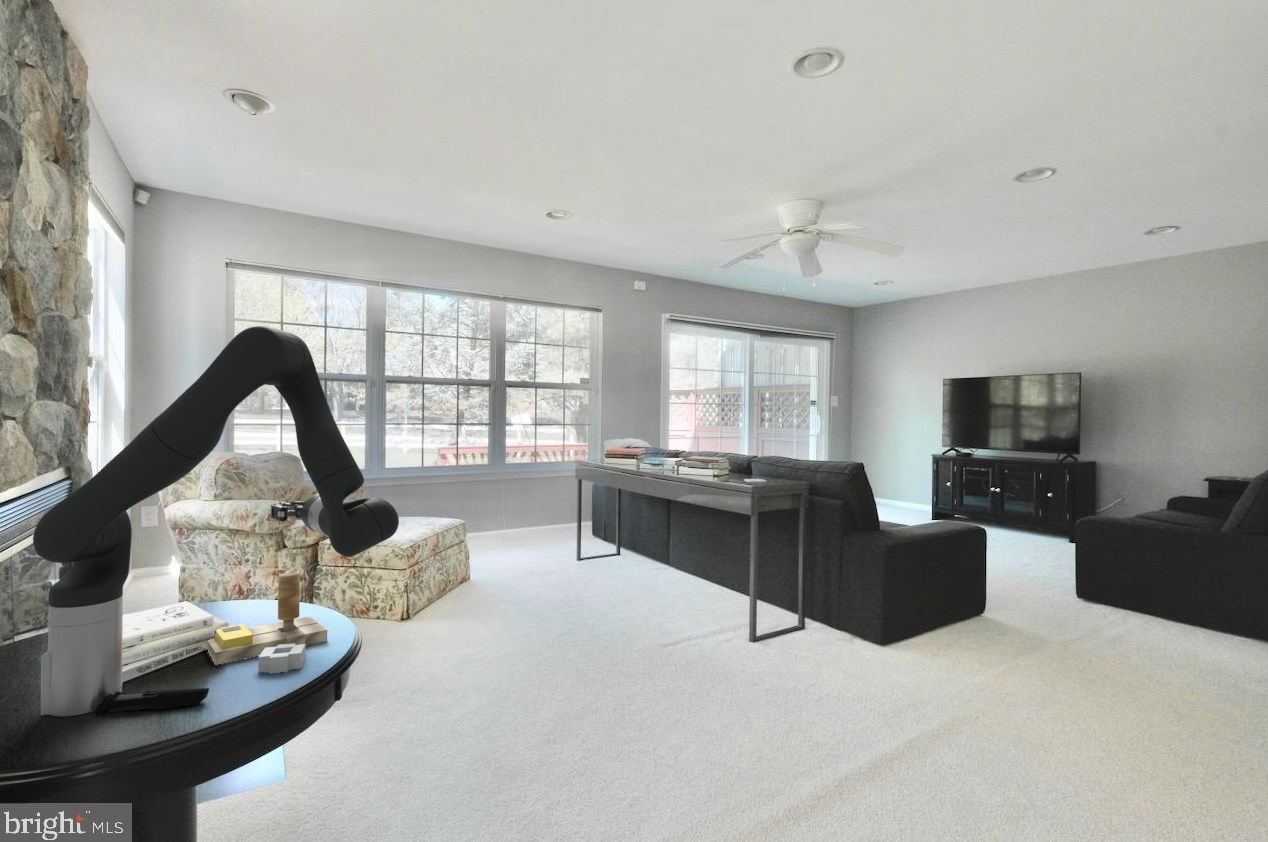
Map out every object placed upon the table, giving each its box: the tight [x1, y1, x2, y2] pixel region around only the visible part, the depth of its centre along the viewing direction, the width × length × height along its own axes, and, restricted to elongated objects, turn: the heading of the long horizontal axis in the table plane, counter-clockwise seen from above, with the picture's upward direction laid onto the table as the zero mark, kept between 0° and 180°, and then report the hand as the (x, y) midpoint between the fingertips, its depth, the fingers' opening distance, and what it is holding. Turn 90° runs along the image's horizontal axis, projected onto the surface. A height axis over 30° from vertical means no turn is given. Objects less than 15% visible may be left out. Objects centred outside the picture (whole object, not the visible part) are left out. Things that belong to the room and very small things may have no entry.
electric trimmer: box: [94, 687, 210, 717], centre depth 102 cm, size 4×16×3 cm, turn 101°
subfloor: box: [207, 616, 328, 666], centre depth 131 cm, size 20×12×3 cm, turn 133°
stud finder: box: [215, 623, 253, 649], centre depth 127 cm, size 5×9×2 cm, turn 43°
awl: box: [277, 572, 301, 632], centre depth 134 cm, size 4×4×14 cm
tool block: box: [257, 643, 307, 675], centre depth 120 cm, size 7×7×3 cm
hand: (304, 505), depth 126 cm, fingers open, 8 cm apart
